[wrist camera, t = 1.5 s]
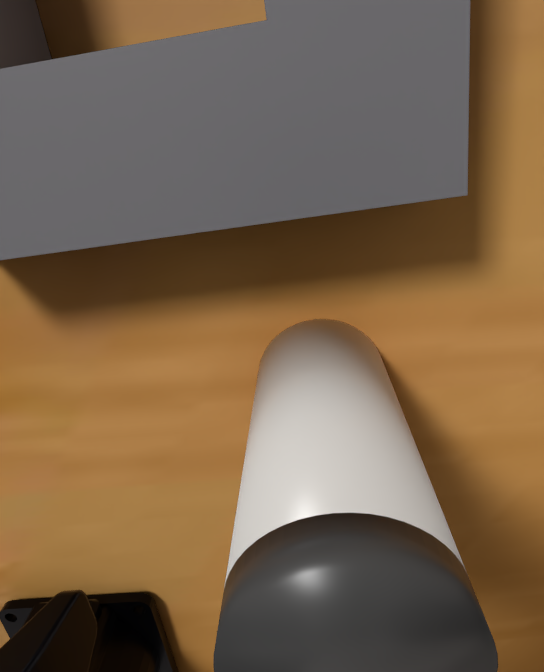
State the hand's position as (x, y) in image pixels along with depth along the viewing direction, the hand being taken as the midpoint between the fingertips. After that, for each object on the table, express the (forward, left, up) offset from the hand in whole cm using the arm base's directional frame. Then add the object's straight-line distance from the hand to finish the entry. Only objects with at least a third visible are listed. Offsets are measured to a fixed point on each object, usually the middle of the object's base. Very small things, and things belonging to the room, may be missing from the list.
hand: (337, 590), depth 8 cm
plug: (0, 0, -8) cm, 8 cm away
